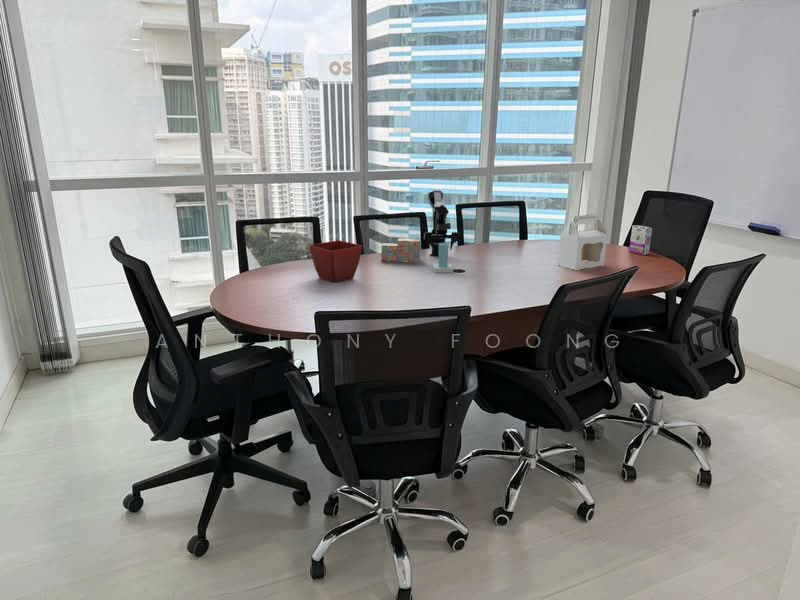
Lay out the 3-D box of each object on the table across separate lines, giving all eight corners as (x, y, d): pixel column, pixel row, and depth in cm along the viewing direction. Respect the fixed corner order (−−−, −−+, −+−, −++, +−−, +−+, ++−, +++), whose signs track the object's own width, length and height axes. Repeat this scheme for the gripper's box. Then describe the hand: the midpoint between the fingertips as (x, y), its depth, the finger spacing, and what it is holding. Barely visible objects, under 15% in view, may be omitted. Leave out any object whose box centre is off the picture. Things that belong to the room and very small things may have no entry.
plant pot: (339, 271, 300) (338, 239, 295) (363, 278, 287) (363, 245, 282) (309, 277, 287) (308, 244, 282) (333, 285, 274) (332, 251, 269)
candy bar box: (649, 254, 342) (653, 227, 337) (643, 255, 340) (647, 228, 335) (634, 251, 352) (637, 224, 347) (628, 251, 349) (631, 225, 344)
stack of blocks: (381, 261, 322) (381, 240, 318) (382, 259, 327) (382, 237, 324) (419, 262, 320) (419, 241, 316) (419, 260, 325) (420, 238, 322)
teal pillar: (438, 265, 306) (438, 243, 302) (446, 265, 306) (447, 243, 302) (439, 267, 301) (439, 244, 298) (447, 267, 302) (448, 244, 298)
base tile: (432, 267, 309) (432, 263, 308) (451, 267, 309) (451, 263, 309) (434, 272, 299) (434, 268, 299) (453, 272, 300) (453, 268, 299)
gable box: (574, 271, 304) (580, 218, 296) (556, 265, 315) (561, 215, 307) (604, 266, 315) (610, 215, 306) (585, 261, 326) (591, 212, 317)
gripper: (424, 217, 305) (425, 242, 299) (459, 217, 306) (461, 242, 299) (423, 228, 315) (424, 253, 309) (457, 228, 316) (458, 253, 309)
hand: (442, 250), depth 306 cm, fingers open, 9 cm apart
